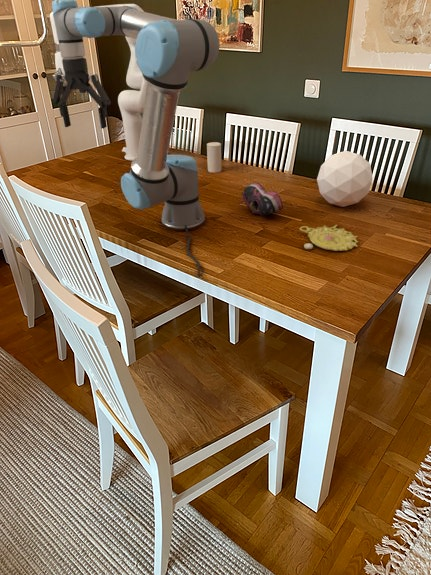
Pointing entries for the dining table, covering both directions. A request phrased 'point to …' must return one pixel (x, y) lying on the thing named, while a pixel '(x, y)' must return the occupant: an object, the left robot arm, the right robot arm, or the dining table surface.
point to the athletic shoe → (261, 200)
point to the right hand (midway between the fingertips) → (85, 127)
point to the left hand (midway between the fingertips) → (74, 94)
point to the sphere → (344, 178)
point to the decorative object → (330, 238)
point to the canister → (214, 157)
